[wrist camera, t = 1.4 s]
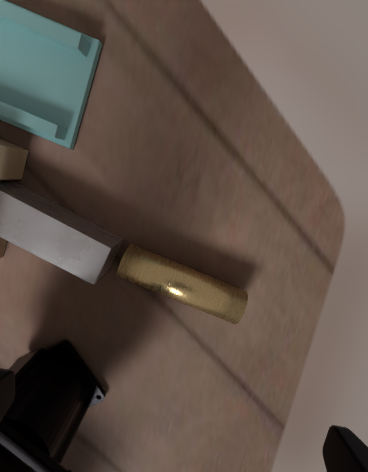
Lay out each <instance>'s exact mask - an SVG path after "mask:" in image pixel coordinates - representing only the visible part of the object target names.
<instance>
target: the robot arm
mask: <svg viewBox="0 0 368 472" xmlns="http://www.w3.org/2000/svg"><path fill="white" fill-rule="evenodd" d="M63 346H65V348H64V347H63ZM105 396H106V392H105V391H104V389H103V388H102V387H101V385H100V384H99V382H98V381H97V380H96V378H95V377H94V376H93V374H92V373H91V371H90V370H89V369H88V367H87V366H86V364H85V363H84V362H83V360H82V359H81V358H80V356H79V355H78V353H77V352H76V351H75V349H74V348H73V347H72V345H71V344H70V343H69V342H68V341H67V340H62V341H60V342H58V343H56V344H54V345H52V346H50V347H48V348H46V349H44V348H39V349H37V350H36V351H34V352H32V353H30V354H28V355H26V356H24V357H22V358H20V359H18V360H17V361H16V362H15V363H14V364H13V365H12V366H11V367H10V368H9V369H2V368H0V472H72V471H71V470H69V471H68V470H67V469H65V468H64V467H63V466H62V465H60V464H61V462H62V460H63V458H64V456H65V454H66V452H67V450H68V448H69V446H70V444H71V442H72V440H73V438H74V436H75V434H76V432H77V430H78V428H79V426H80V424H81V422H82V420H83V418H84V416H85V414H86V411H87V409H88V407H90V406H93V405H95V404H97V403H99V402H102V401H103V400H104V398H105ZM323 458H324V462H325V466H326V469H327V472H368V447H367V446H366V445H365V444H364V443H363V442H362V441H361V440H360V439H359V438H358V437H357V436H356V435H355V434H354V433H353V432H352V431H351V430H349V429H348V428H346V427H341V426H335V425H332V426H331V427H330V428H329V430H328V433H327V437H326V439H325V442H324V445H323Z"/></svg>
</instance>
